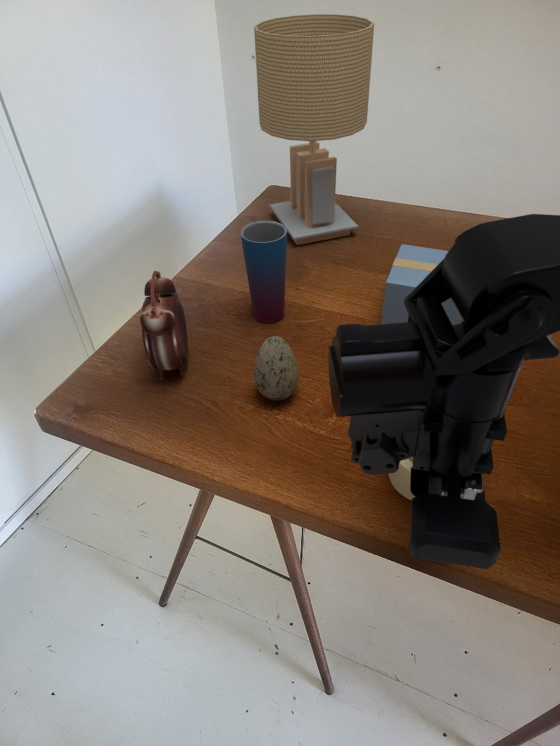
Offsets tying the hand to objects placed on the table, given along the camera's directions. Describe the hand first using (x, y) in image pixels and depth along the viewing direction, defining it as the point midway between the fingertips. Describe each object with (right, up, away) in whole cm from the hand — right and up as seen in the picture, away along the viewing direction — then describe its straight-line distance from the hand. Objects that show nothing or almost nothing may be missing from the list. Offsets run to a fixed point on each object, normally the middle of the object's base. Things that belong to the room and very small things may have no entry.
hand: (433, 509), depth 49 cm
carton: (+9, +23, +36) cm, 43 cm away
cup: (-16, +23, +36) cm, 46 cm away
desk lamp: (-8, +44, +59) cm, 74 cm away
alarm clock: (-31, +14, +28) cm, 44 cm away
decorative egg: (-15, +10, +22) cm, 29 cm away
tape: (+2, +1, +12) cm, 12 cm away
